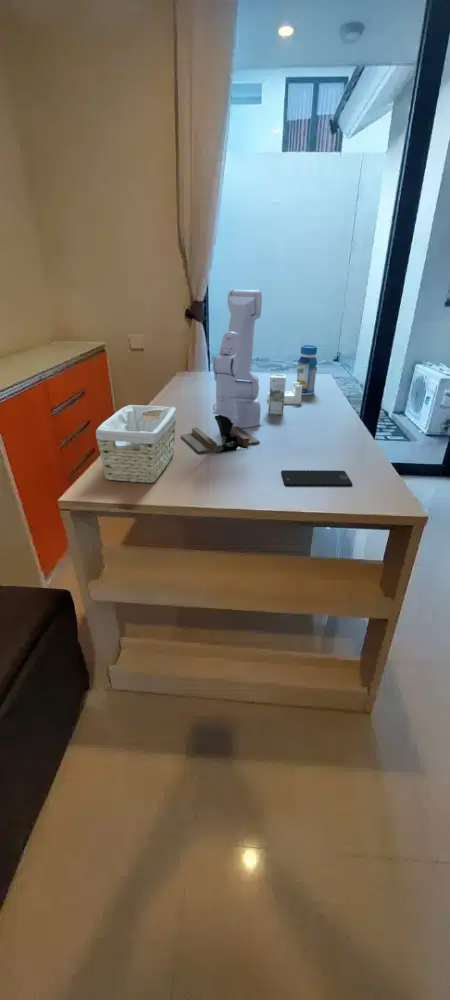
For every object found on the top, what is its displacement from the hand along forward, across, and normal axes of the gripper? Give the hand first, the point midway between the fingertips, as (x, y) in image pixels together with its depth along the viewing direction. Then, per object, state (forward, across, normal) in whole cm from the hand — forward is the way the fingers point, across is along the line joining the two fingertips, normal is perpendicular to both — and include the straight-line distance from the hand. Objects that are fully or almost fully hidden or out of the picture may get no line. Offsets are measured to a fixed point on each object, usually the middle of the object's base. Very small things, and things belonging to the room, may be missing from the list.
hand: (225, 438), depth 140 cm
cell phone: (+3, +33, +12) cm, 35 cm away
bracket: (+3, -35, +43) cm, 56 cm away
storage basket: (+3, +6, -28) cm, 29 cm away
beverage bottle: (+2, -42, +59) cm, 73 cm away
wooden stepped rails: (+2, -4, 0) cm, 5 cm away
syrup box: (+2, -22, +32) cm, 39 cm away
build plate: (+3, +3, 0) cm, 4 cm away
